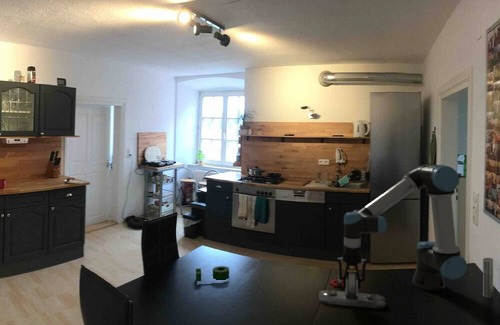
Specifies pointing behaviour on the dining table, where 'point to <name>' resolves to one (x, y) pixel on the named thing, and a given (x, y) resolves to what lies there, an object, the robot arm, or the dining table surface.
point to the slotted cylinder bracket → (215, 273)
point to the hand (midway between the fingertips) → (351, 294)
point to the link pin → (351, 282)
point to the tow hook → (339, 283)
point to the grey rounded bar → (360, 300)
